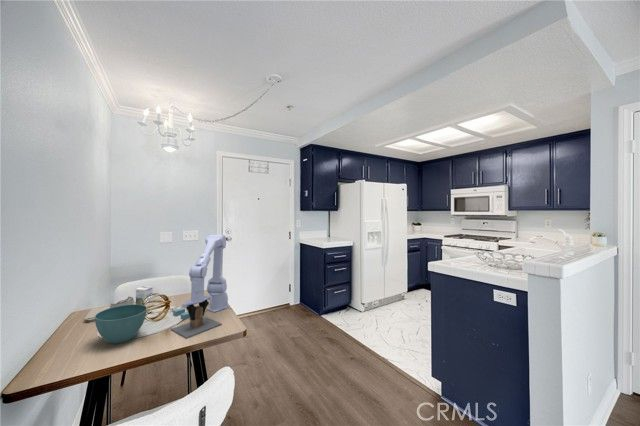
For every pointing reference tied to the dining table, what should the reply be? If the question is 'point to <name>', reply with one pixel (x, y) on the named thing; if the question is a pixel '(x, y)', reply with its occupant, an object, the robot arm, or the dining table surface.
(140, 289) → the syrup box
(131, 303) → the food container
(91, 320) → the washcloth
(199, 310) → the walnut block
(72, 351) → the dining table surface
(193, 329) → the rubber mat
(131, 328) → the teal bowl
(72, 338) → the dining table surface
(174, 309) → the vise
